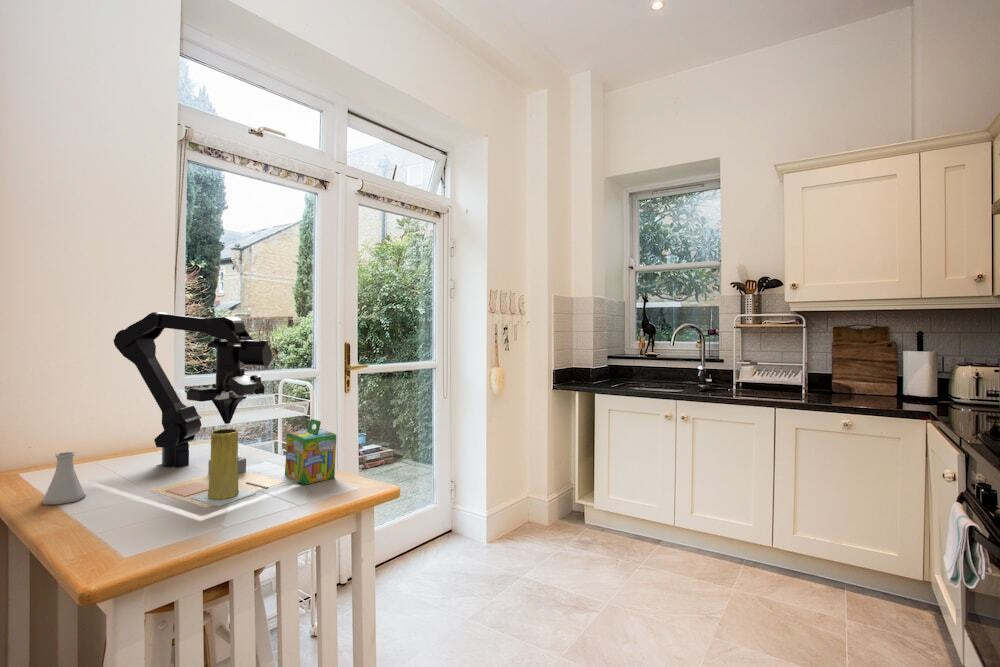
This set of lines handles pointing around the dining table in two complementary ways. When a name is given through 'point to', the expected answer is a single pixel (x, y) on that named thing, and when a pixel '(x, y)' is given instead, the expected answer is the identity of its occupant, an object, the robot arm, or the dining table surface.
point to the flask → (64, 482)
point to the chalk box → (310, 454)
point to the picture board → (199, 486)
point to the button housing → (240, 465)
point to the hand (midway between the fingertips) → (227, 423)
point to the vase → (223, 464)
